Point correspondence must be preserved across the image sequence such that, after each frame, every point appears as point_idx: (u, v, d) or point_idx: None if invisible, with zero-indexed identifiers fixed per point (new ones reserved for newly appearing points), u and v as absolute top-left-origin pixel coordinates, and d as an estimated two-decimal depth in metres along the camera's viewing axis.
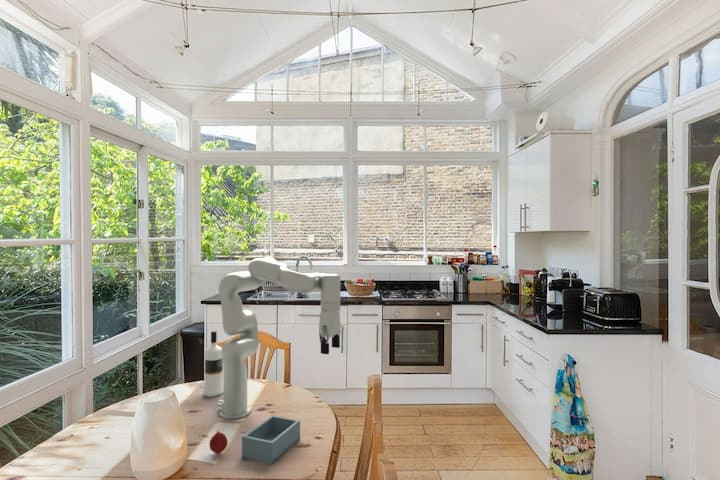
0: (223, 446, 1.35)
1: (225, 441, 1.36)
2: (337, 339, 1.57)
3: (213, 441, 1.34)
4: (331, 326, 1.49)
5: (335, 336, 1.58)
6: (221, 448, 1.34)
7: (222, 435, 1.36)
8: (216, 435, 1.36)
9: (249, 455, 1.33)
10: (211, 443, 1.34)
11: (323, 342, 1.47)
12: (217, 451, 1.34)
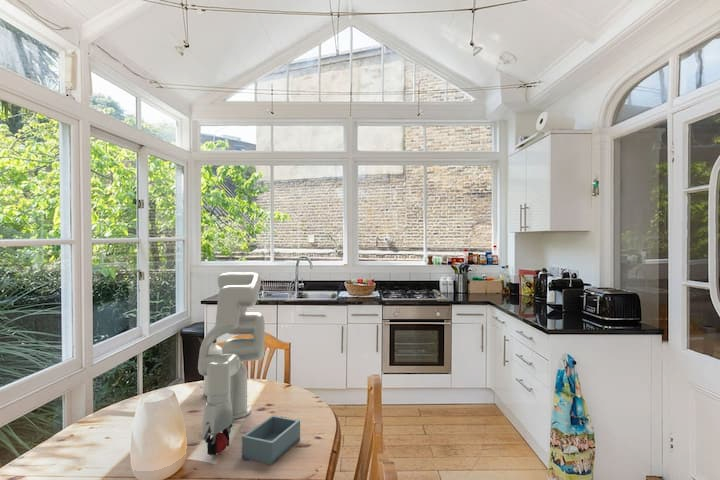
0: (223, 446, 1.35)
1: (225, 441, 1.36)
2: (226, 436, 1.39)
3: None
4: (216, 423, 1.32)
5: (224, 432, 1.40)
6: (221, 448, 1.34)
7: (222, 435, 1.36)
8: (216, 435, 1.36)
9: (249, 455, 1.33)
10: None
11: (208, 442, 1.32)
12: (217, 451, 1.34)
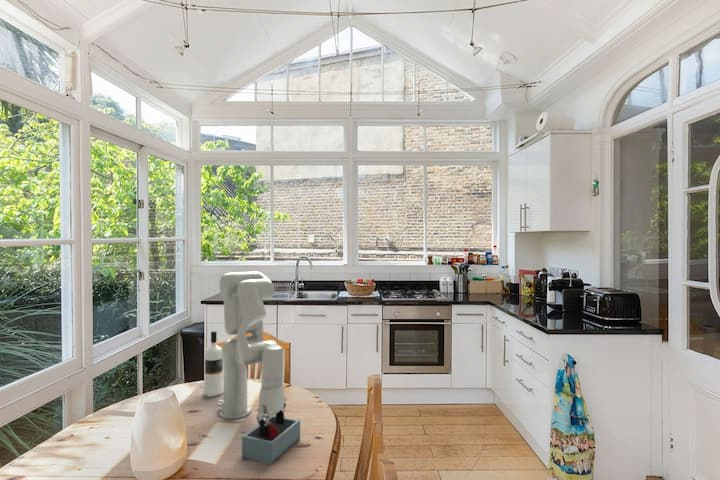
0: None
1: (278, 432, 1.40)
2: (281, 415, 1.45)
3: None
4: (271, 406, 1.36)
5: (279, 412, 1.45)
6: None
7: (274, 426, 1.40)
8: None
9: (249, 455, 1.33)
10: None
11: (261, 424, 1.35)
12: None
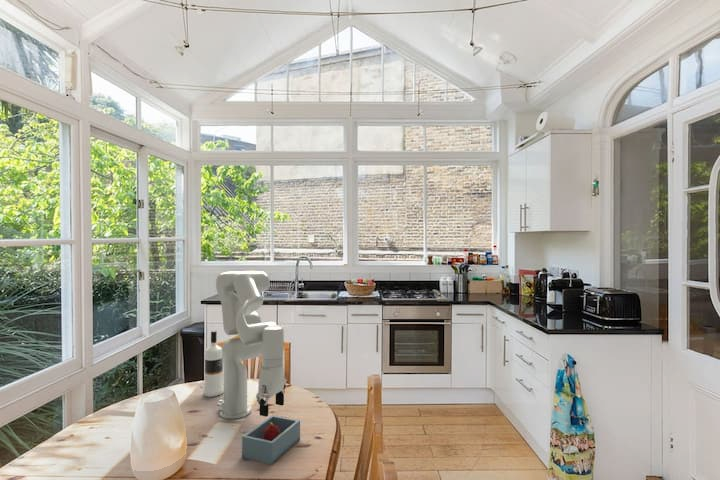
0: None
1: (279, 433, 1.40)
2: (281, 396, 1.45)
3: (268, 433, 1.38)
4: (271, 386, 1.37)
5: (279, 392, 1.45)
6: None
7: (275, 427, 1.40)
8: (270, 427, 1.39)
9: (249, 455, 1.33)
10: (265, 435, 1.38)
11: (261, 404, 1.35)
12: None
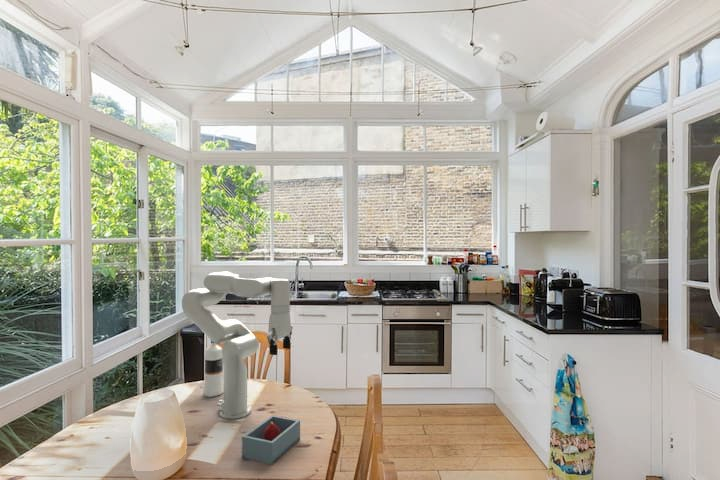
0: None
1: (279, 432, 1.40)
2: (288, 341, 1.66)
3: (268, 432, 1.38)
4: (279, 328, 1.57)
5: (286, 338, 1.66)
6: None
7: (276, 427, 1.40)
8: (270, 427, 1.40)
9: (249, 455, 1.33)
10: (266, 434, 1.38)
11: (271, 343, 1.56)
12: None
